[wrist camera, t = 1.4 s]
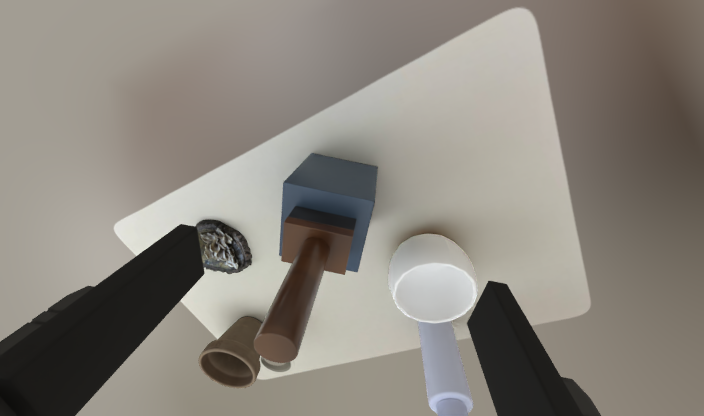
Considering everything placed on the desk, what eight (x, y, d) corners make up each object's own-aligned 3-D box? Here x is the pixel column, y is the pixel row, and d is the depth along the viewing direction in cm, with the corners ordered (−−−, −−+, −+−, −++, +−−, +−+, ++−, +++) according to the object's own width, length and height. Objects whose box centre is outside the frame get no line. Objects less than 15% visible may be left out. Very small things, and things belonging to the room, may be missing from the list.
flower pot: (216, 312, 57) (184, 355, 48) (259, 302, 54) (234, 347, 45) (243, 346, 62) (219, 391, 53) (284, 339, 59) (266, 386, 50)
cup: (379, 270, 47) (377, 313, 38) (401, 212, 41) (405, 247, 33) (445, 287, 47) (458, 335, 38) (476, 232, 41) (500, 273, 33)
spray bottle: (422, 329, 52) (443, 479, 33) (413, 308, 50) (430, 456, 31) (452, 324, 51) (494, 478, 31) (445, 302, 48) (485, 454, 29)
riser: (305, 211, 43) (278, 255, 32) (311, 152, 38) (283, 182, 28) (364, 223, 43) (357, 272, 32) (377, 166, 38) (374, 201, 28)
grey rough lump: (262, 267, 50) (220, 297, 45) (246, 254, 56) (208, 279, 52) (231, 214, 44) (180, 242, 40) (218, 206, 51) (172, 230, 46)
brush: (292, 241, 31) (225, 360, 18) (295, 205, 29) (221, 311, 16) (349, 254, 31) (322, 382, 18) (356, 218, 29) (333, 336, 16)
